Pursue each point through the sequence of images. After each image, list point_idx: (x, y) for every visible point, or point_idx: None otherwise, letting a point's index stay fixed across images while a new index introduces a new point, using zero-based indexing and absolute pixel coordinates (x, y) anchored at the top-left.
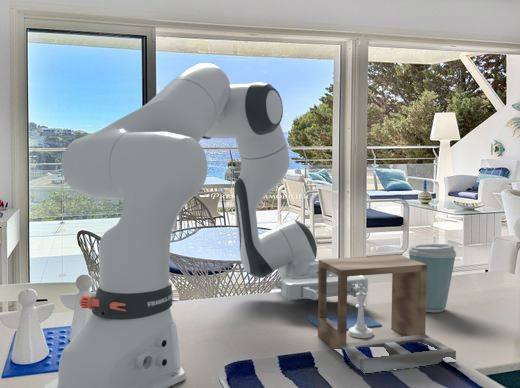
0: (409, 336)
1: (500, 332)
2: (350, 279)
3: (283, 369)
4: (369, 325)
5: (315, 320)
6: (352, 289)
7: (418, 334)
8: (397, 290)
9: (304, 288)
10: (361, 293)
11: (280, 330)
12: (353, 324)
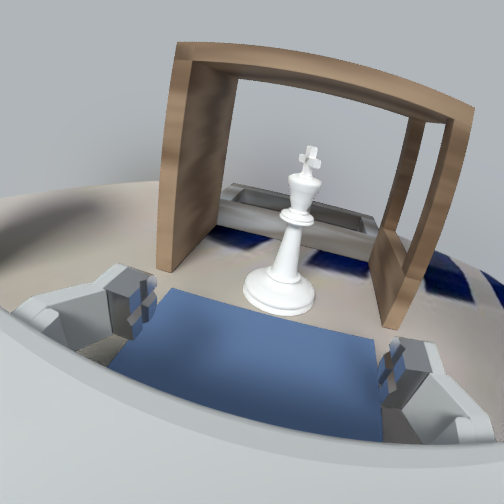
0: (243, 209)
1: (59, 195)
2: (3, 323)
3: (462, 276)
4: (210, 302)
5: (364, 426)
6: (138, 298)
7: (217, 207)
8: (193, 147)
9: (486, 414)
10: (308, 174)
11: (481, 398)
12: (250, 331)
